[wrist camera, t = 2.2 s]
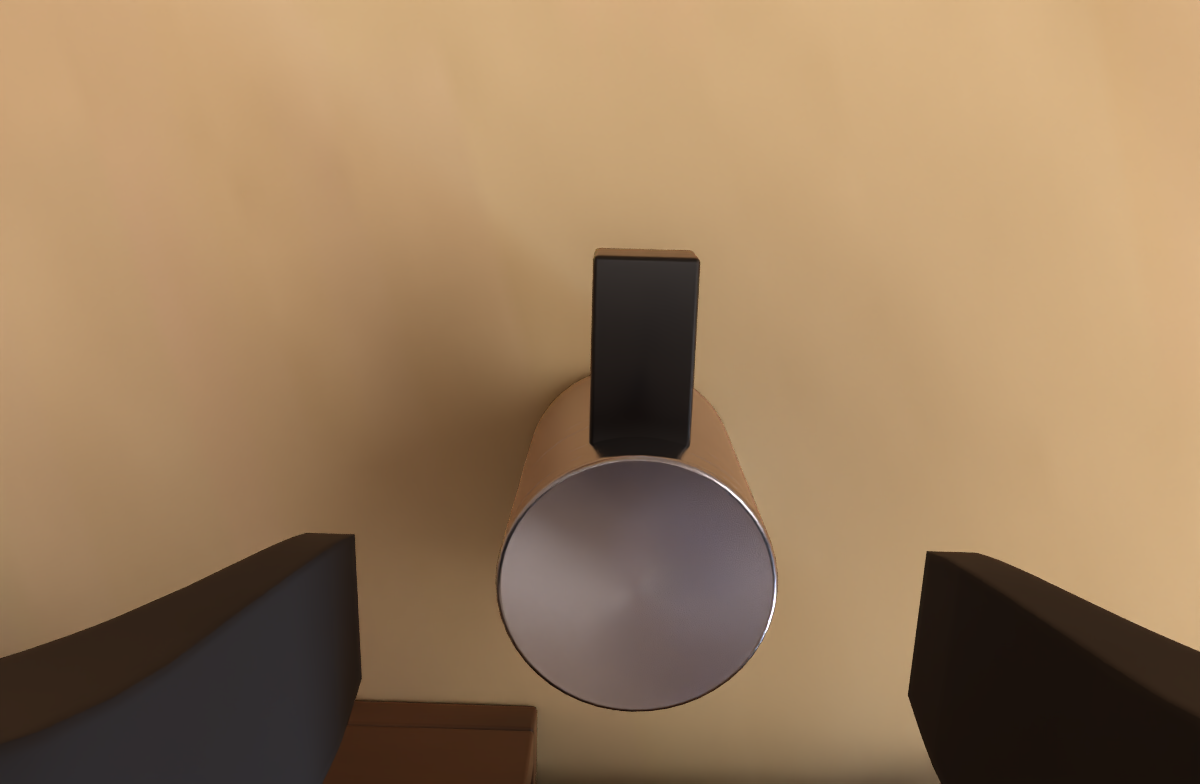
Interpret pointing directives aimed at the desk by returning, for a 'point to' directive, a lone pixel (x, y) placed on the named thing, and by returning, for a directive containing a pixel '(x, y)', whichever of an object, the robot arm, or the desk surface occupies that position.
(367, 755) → the cabinet
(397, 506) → the desk surface
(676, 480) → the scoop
